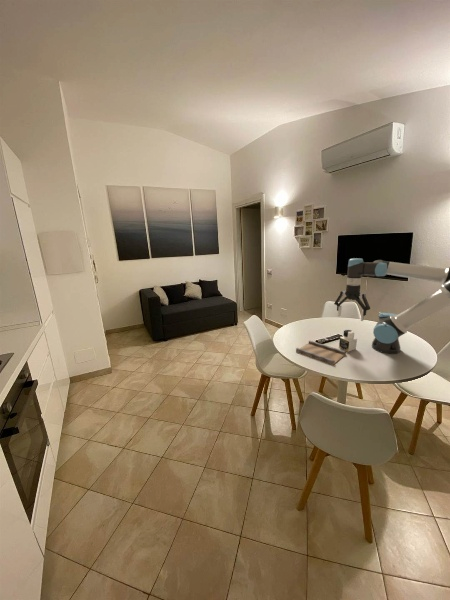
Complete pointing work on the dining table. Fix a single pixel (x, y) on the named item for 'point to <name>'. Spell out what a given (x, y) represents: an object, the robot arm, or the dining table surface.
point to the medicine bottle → (348, 341)
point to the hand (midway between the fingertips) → (350, 318)
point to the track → (322, 352)
